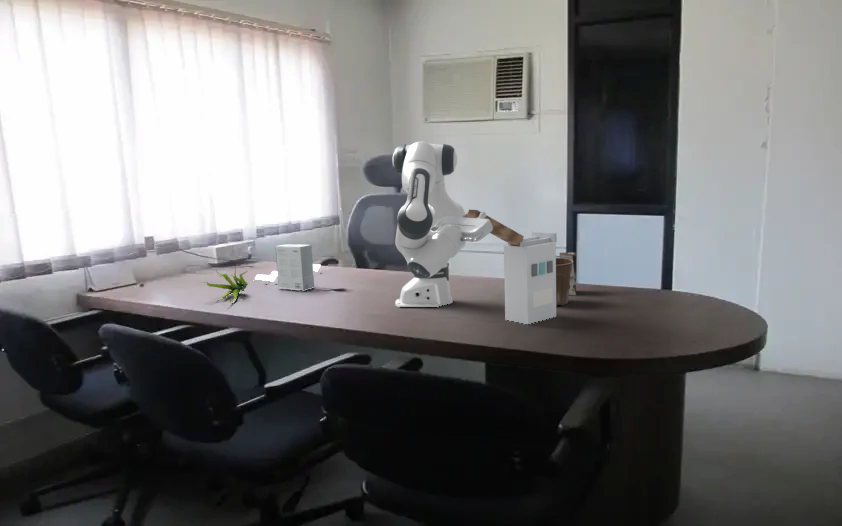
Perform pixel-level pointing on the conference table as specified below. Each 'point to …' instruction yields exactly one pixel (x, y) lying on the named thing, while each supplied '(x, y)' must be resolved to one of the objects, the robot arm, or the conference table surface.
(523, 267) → the switch console stand
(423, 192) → the robot arm
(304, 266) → the hard drive box
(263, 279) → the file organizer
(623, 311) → the conference table surface
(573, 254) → the coffee box
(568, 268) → the plant pot
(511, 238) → the lever bar
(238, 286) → the decorative plant
